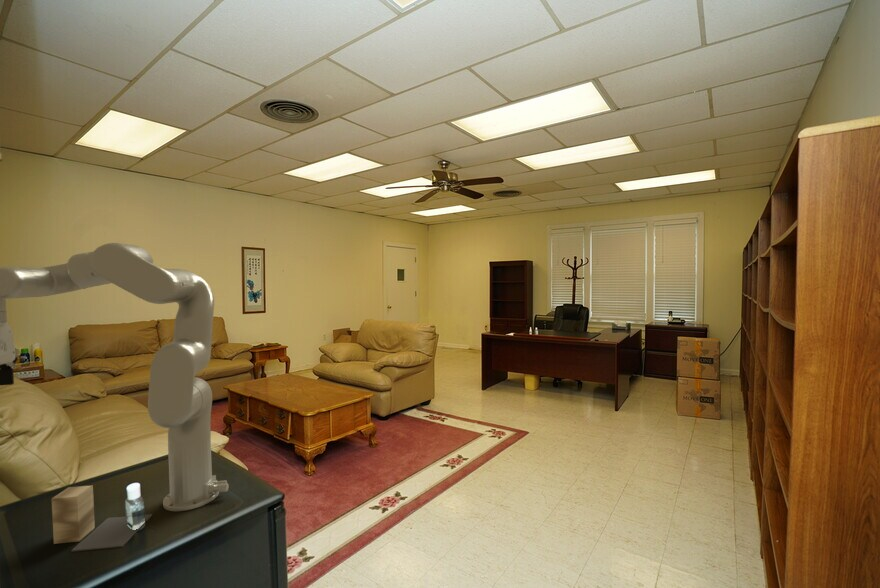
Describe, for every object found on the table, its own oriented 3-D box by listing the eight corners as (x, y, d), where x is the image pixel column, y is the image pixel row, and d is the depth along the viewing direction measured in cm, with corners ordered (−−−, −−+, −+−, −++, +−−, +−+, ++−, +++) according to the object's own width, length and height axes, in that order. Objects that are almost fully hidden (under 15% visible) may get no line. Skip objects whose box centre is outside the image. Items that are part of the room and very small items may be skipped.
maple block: (94, 528, 96) (92, 485, 96) (79, 541, 91) (77, 496, 91) (70, 530, 95) (68, 487, 95) (53, 544, 91) (51, 498, 90)
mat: (152, 515, 101) (152, 514, 101) (122, 546, 89) (122, 545, 89) (107, 519, 100) (107, 517, 100) (71, 551, 88) (71, 550, 88)
